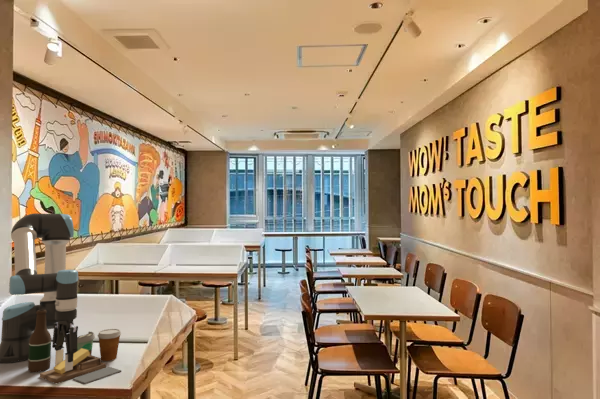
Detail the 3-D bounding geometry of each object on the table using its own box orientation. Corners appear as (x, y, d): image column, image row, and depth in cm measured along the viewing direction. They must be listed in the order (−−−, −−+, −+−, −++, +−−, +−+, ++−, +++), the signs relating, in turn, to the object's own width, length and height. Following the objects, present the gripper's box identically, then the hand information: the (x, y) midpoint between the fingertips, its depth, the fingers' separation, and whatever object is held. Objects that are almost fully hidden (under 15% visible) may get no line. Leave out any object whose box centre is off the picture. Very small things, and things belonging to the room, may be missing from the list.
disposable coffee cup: (104, 364, 171) (105, 335, 171) (92, 359, 176) (93, 332, 176) (125, 357, 179) (125, 330, 180) (112, 353, 184) (113, 327, 185)
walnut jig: (39, 377, 156) (40, 366, 156) (89, 362, 173) (89, 352, 173) (56, 383, 150) (56, 372, 150) (106, 367, 167) (106, 357, 167)
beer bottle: (29, 367, 166) (32, 309, 167) (51, 365, 169) (54, 307, 171) (25, 374, 159) (28, 312, 160) (48, 371, 162) (50, 311, 163)
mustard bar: (52, 372, 157) (54, 354, 157) (82, 364, 167) (83, 347, 167) (59, 374, 154) (61, 356, 155) (89, 367, 164) (90, 349, 165)
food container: (80, 363, 172) (81, 339, 172) (68, 362, 173) (69, 338, 173) (100, 354, 184) (101, 331, 184) (88, 353, 185) (89, 331, 186)
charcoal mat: (73, 379, 154) (73, 378, 154) (109, 367, 166) (109, 366, 166) (84, 384, 149) (84, 382, 149) (121, 371, 162) (121, 370, 162)
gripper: (43, 308, 161) (41, 366, 160) (70, 314, 151) (67, 376, 150) (62, 304, 168) (60, 361, 166) (89, 310, 157) (87, 370, 156)
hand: (63, 368), depth 158 cm, fingers open, 6 cm apart
